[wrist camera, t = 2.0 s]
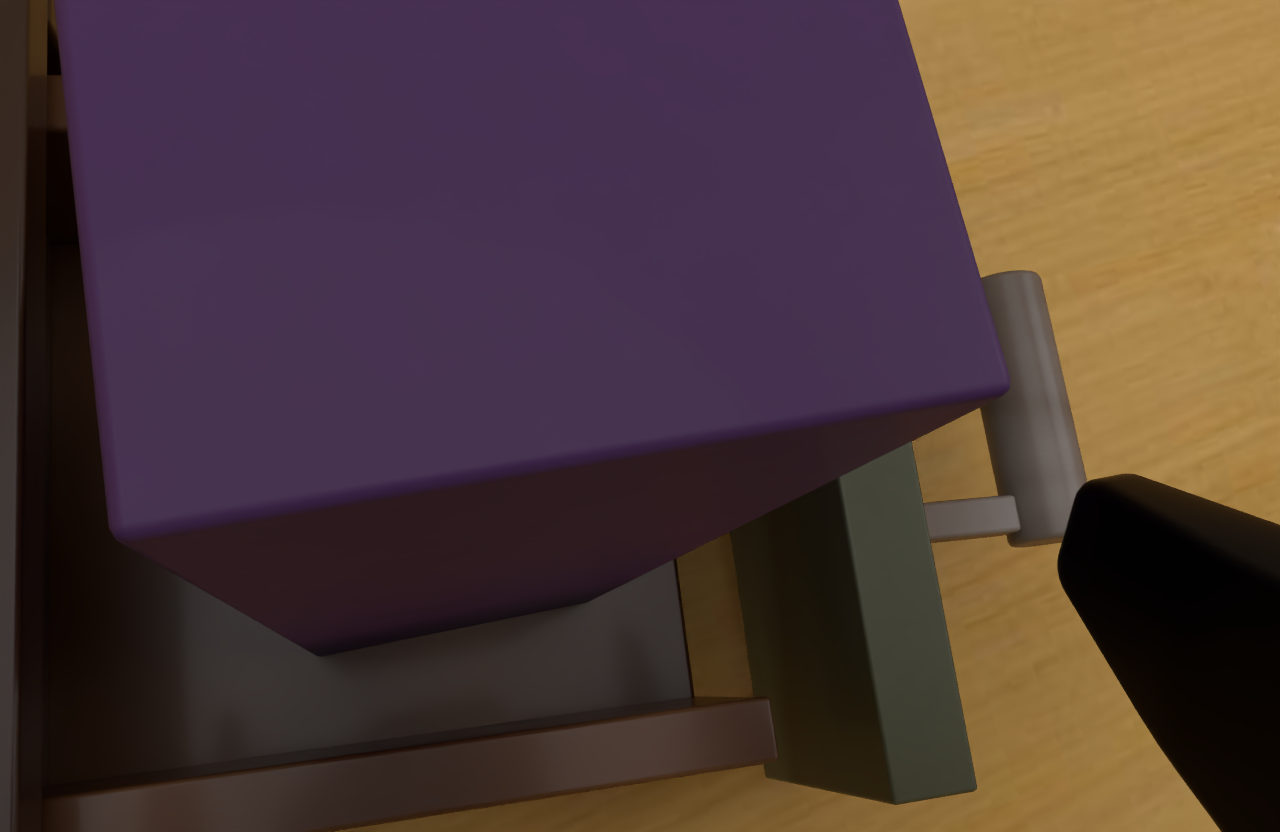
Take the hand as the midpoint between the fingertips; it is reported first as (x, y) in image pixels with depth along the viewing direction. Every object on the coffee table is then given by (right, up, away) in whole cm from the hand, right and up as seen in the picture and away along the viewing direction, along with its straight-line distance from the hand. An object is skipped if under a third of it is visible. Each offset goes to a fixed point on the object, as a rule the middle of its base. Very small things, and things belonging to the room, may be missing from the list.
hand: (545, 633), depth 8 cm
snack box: (-3, +1, +9) cm, 9 cm away
